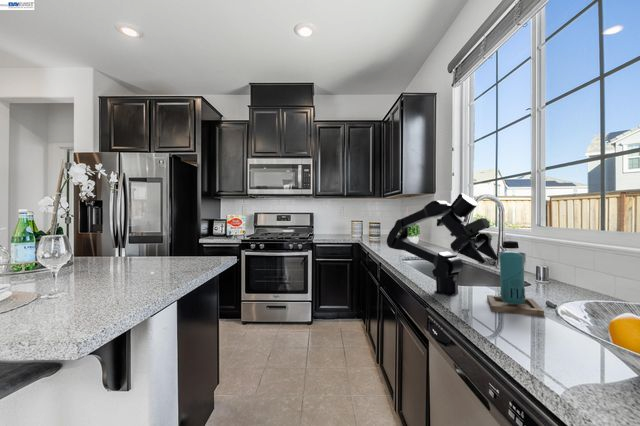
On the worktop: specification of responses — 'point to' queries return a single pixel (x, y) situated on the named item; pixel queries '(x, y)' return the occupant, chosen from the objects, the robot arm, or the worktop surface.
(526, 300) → the walnut tray
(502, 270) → the beverage bottle
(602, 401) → the worktop surface
